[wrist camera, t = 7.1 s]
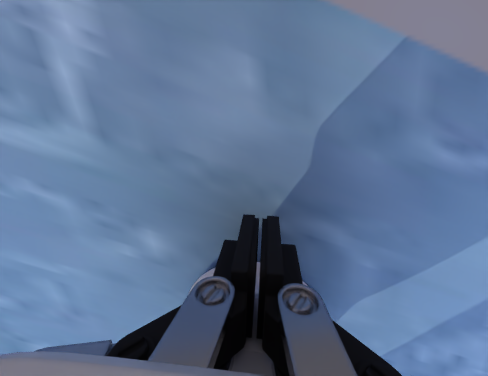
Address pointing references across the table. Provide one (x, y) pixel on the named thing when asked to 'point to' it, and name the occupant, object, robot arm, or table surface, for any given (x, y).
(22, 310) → the table surface
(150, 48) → the table surface
